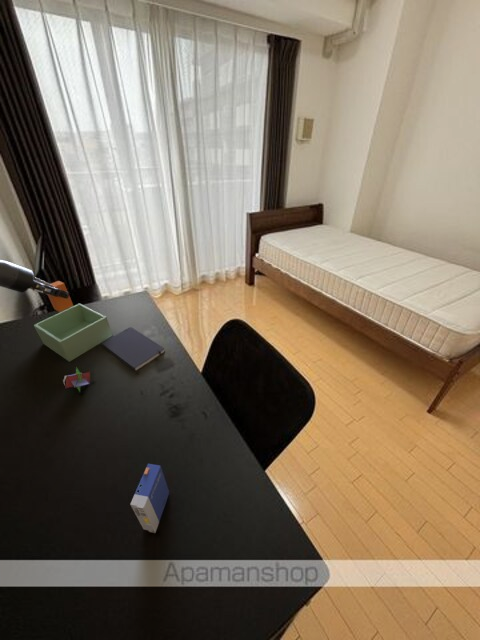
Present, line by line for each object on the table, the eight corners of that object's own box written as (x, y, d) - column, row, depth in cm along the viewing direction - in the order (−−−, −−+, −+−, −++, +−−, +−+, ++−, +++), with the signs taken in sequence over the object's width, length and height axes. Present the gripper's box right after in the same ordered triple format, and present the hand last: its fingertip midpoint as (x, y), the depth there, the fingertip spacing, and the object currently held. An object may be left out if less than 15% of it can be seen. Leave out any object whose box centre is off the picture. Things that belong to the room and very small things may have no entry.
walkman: (158, 490, 64) (147, 462, 57) (169, 492, 64) (160, 464, 57) (142, 531, 58) (128, 505, 51) (155, 533, 57) (142, 508, 50)
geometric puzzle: (92, 367, 93) (69, 360, 86) (100, 378, 89) (77, 372, 82) (78, 386, 92) (54, 380, 86) (86, 398, 88) (62, 393, 82)
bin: (43, 343, 107) (33, 325, 101) (86, 321, 118) (79, 303, 113) (69, 361, 98) (59, 342, 93) (112, 335, 110) (106, 316, 105)
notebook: (101, 345, 105) (135, 371, 94) (100, 342, 104) (134, 368, 93) (131, 329, 113) (165, 351, 102) (130, 326, 112) (165, 348, 101)
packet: (54, 309, 99) (43, 286, 94) (68, 303, 102) (58, 280, 97) (59, 312, 97) (49, 289, 92) (73, 305, 101) (64, 283, 95)
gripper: (26, 269, 80) (81, 289, 96) (4, 258, 87) (58, 279, 102) (15, 293, 80) (71, 310, 95) (-7, 281, 86) (49, 298, 101)
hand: (64, 294), depth 98 cm, fingers closed on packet, 3 cm apart
